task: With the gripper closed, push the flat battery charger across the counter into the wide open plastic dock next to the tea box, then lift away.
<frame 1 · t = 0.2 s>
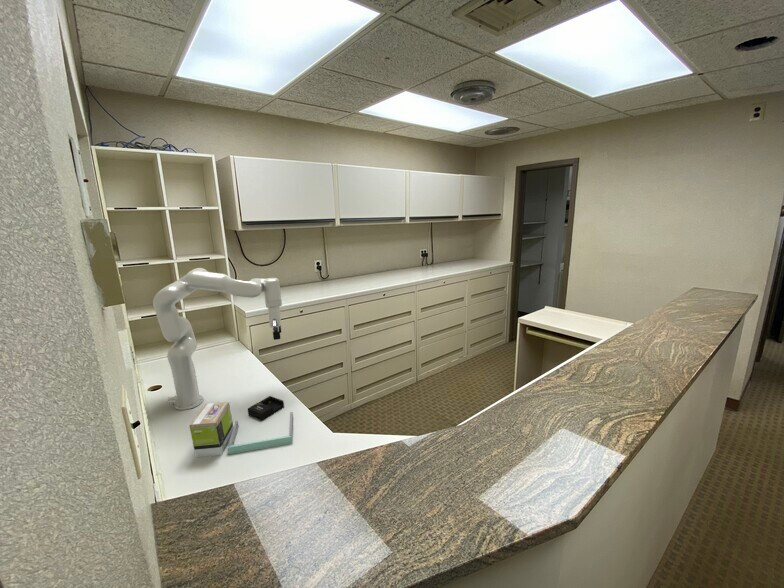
hand: (277, 335, 178), 30 cm above the counter, tool pointing down, fingers open, 9 cm apart
dock: (263, 434, 149), on the counter
battery charger: (266, 412, 166), on the counter
tea box: (216, 444, 143), on the counter
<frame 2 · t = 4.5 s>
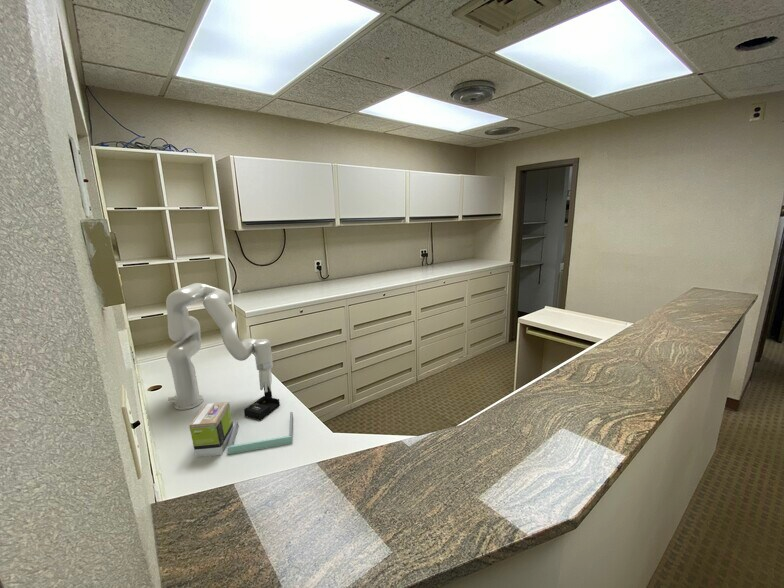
hand: (268, 398, 175), 1 cm above the counter, tool pointing down, fingers closed
battery charger: (262, 412, 166), on the counter, touching gripper
everything else where it was.
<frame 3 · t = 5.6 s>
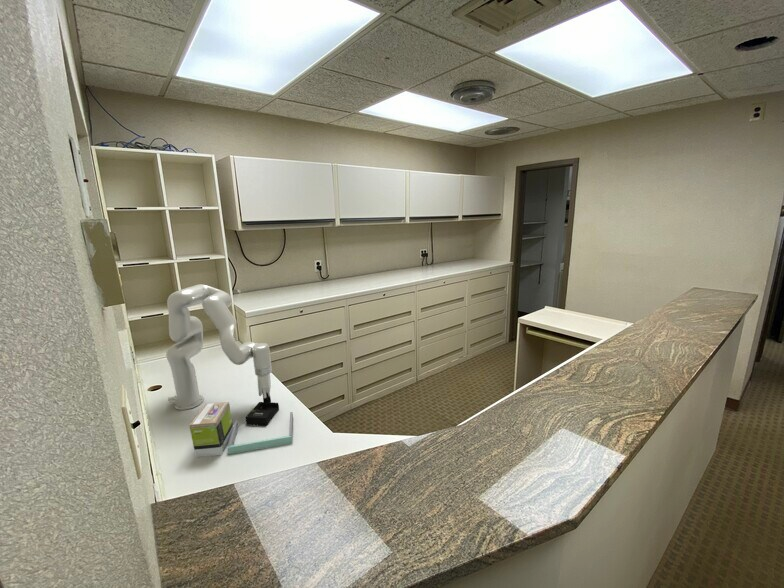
hand: (267, 404, 170), 1 cm above the counter, tool pointing down, fingers closed
battery charger: (263, 417, 161), on the counter, touching gripper
everything else where it was.
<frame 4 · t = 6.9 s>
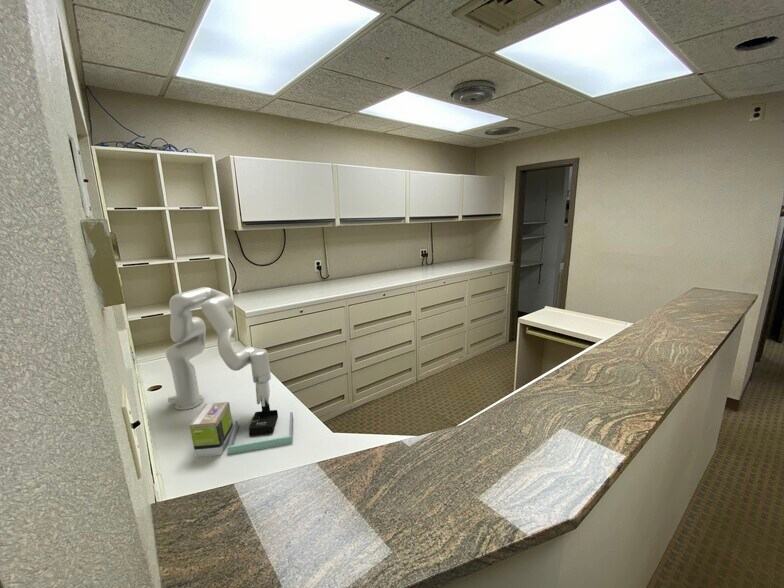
hand: (266, 413, 162), 1 cm above the counter, tool pointing down, fingers closed
battery charger: (264, 427, 155), on the counter
everything else where it was.
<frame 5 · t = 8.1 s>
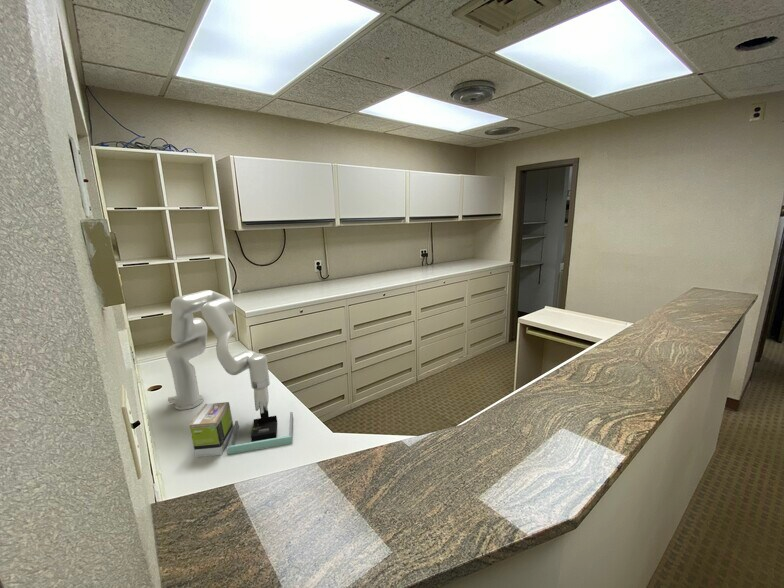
hand: (265, 419, 157), 1 cm above the counter, tool pointing down, fingers closed
battery charger: (265, 434, 150), on the counter
everything else where it was.
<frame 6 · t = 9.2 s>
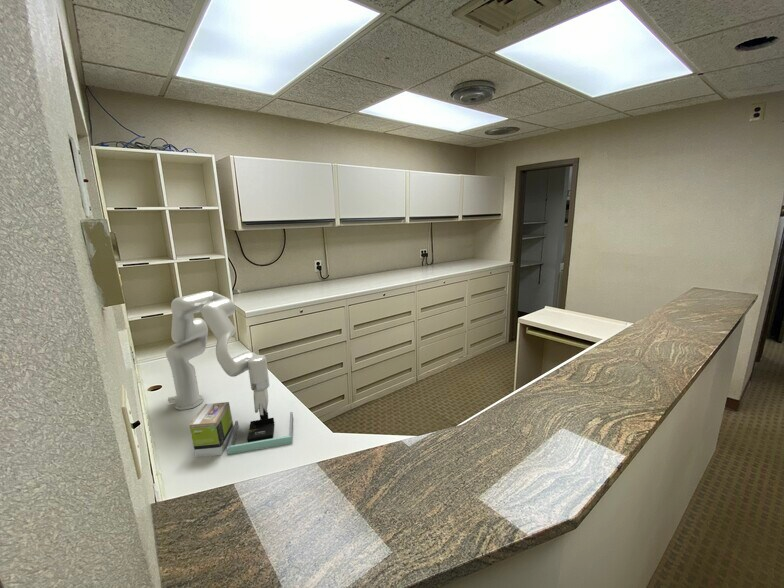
hand: (264, 421, 156), 1 cm above the counter, tool pointing down, fingers closed
battery charger: (262, 436, 148), on the counter
everything else where it was.
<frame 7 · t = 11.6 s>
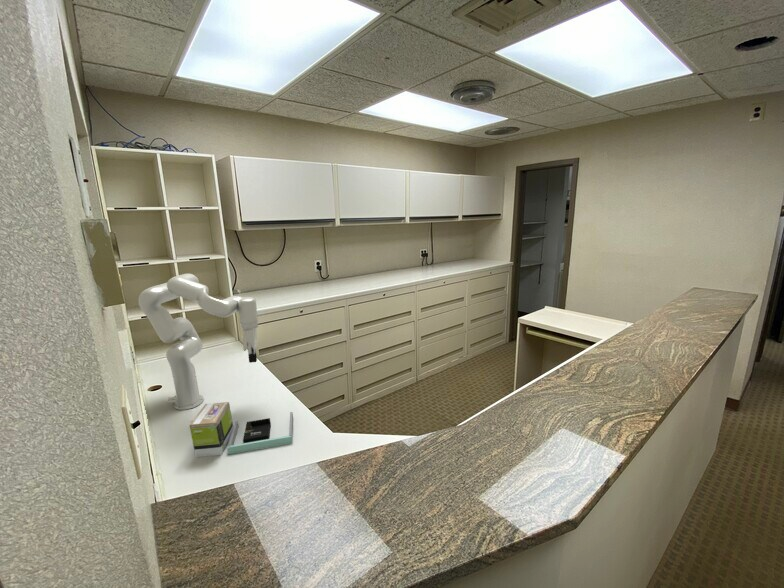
hand: (253, 361, 166), 23 cm above the counter, tool pointing down, fingers closed
battery charger: (258, 437, 148), on the counter
everything else where it was.
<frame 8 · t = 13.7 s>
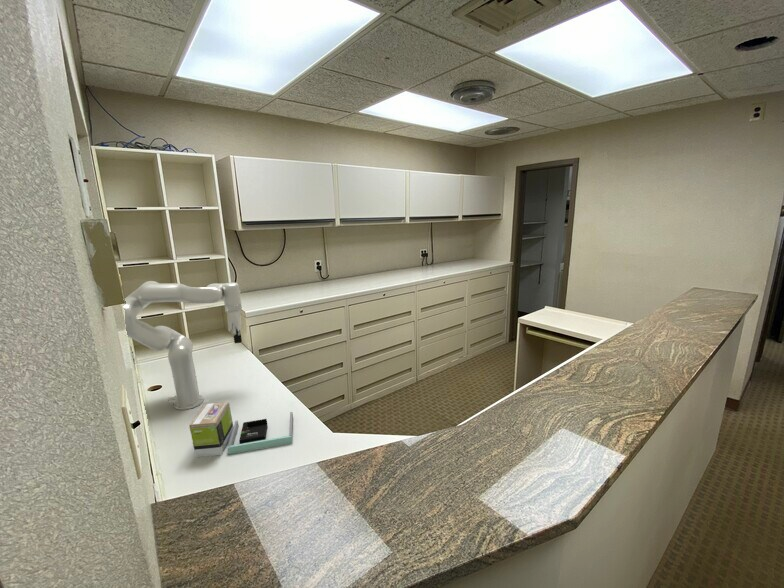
hand: (238, 342, 179), 27 cm above the counter, tool pointing down, fingers closed
battery charger: (254, 437, 148), on the counter
everything else where it was.
at the end: battery charger inside the target area (3.5 cm from its centre), on the counter; battery charger tilted 0° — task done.
